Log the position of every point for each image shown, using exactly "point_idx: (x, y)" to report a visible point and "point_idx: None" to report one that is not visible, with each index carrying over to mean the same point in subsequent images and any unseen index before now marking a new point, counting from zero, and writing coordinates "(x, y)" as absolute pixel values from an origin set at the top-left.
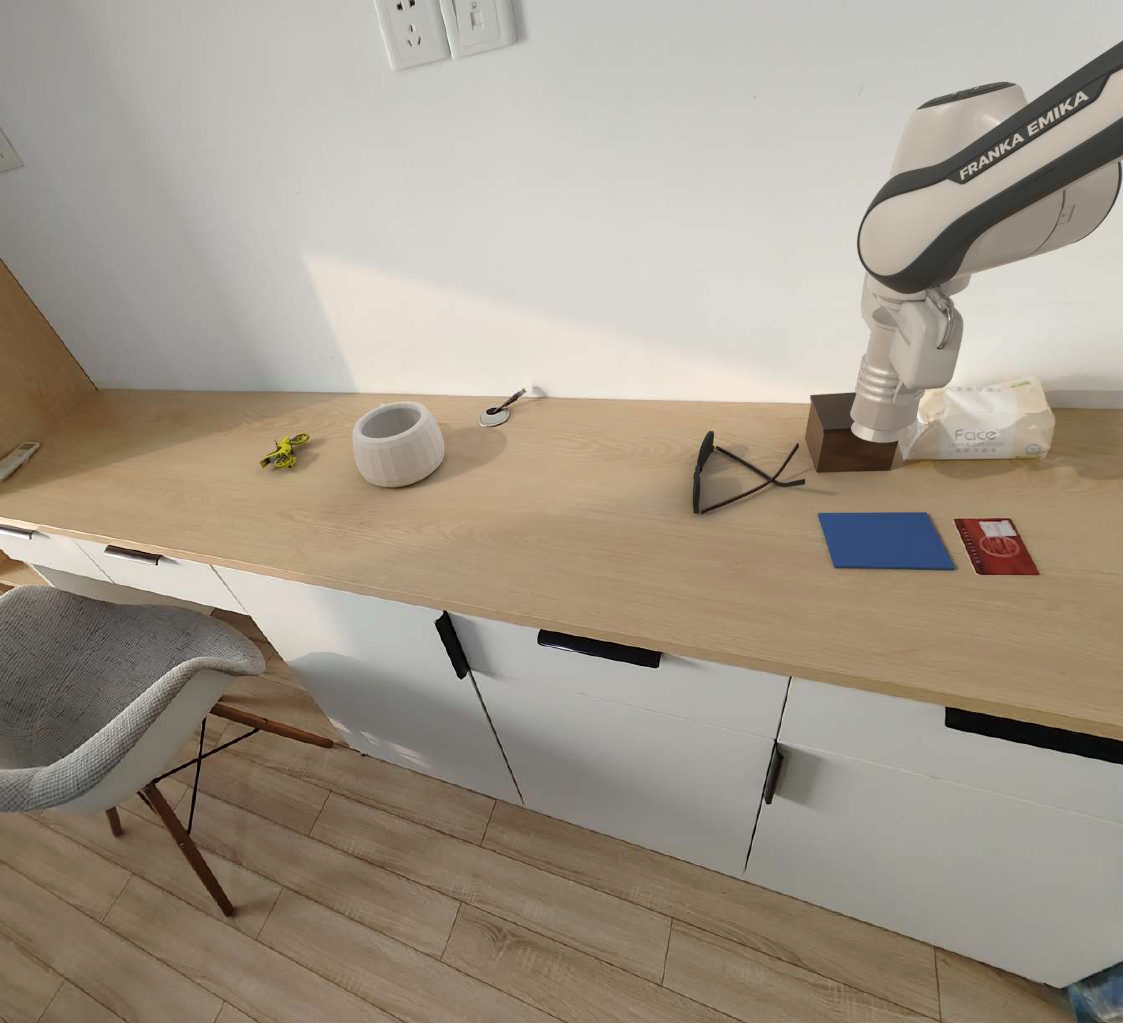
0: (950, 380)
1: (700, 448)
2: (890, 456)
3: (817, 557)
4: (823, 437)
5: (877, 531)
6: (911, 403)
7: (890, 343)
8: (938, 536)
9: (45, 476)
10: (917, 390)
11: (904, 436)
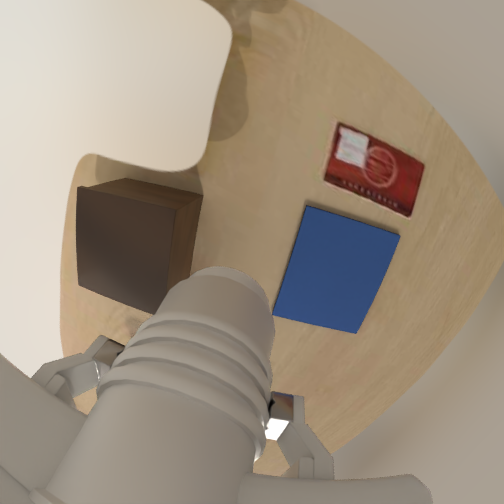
0: (430, 492)
1: None
2: (194, 204)
3: (336, 338)
4: None
5: (323, 275)
6: (303, 398)
7: None
8: (353, 220)
9: None
10: (312, 431)
11: (261, 289)
